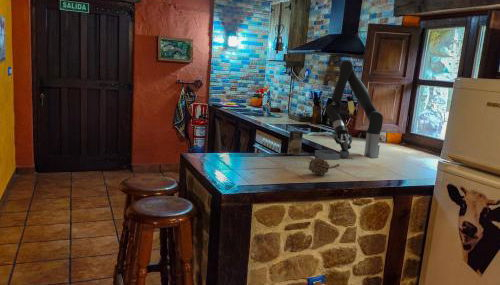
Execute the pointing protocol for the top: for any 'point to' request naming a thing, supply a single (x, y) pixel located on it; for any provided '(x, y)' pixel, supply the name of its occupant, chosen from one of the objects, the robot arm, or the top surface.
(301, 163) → the top surface
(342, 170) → the top surface
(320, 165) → the pine cone
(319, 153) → the slate bin
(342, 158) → the stud base
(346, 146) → the metal strut
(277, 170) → the top surface
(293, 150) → the coffee box
